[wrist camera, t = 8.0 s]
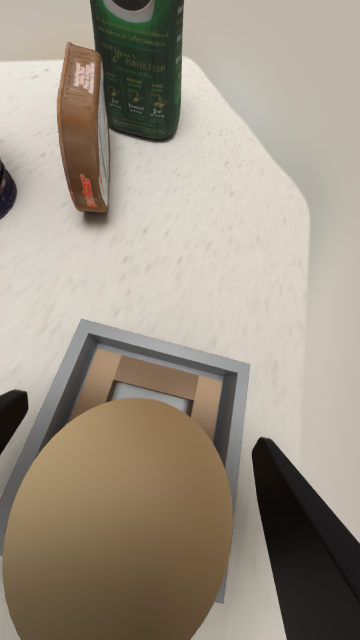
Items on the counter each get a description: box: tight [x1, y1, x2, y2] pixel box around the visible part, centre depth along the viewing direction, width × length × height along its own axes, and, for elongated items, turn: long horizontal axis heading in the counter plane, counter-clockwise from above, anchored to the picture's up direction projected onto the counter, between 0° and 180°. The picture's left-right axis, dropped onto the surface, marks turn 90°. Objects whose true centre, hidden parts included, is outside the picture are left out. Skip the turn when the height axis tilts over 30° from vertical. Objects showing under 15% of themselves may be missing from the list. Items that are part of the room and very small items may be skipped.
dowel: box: [3, 398, 233, 640], centre depth 9 cm, size 4×4×12 cm
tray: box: [0, 319, 250, 604], centre depth 14 cm, size 12×12×4 cm
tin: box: [57, 42, 110, 212], centre depth 20 cm, size 15×3×8 cm, turn 5°
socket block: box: [69, 349, 222, 443], centre depth 14 cm, size 9×9×2 cm
